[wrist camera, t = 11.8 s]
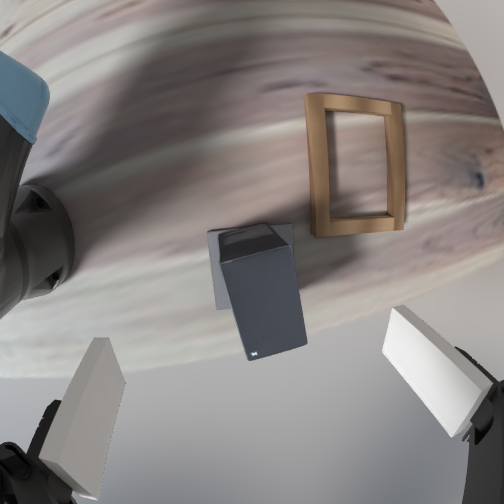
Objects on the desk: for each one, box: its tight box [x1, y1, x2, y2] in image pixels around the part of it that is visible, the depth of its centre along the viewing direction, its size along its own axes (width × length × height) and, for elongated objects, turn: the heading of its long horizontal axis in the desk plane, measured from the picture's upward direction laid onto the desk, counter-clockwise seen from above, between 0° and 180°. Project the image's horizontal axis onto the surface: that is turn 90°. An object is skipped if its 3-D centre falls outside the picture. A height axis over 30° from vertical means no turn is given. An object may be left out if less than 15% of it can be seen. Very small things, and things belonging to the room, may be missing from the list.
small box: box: [217, 223, 307, 361], centre depth 29 cm, size 11×6×10 cm, turn 13°
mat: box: [207, 224, 294, 310], centre depth 34 cm, size 10×10×1 cm
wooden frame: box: [304, 93, 405, 238], centre depth 31 cm, size 13×17×2 cm
